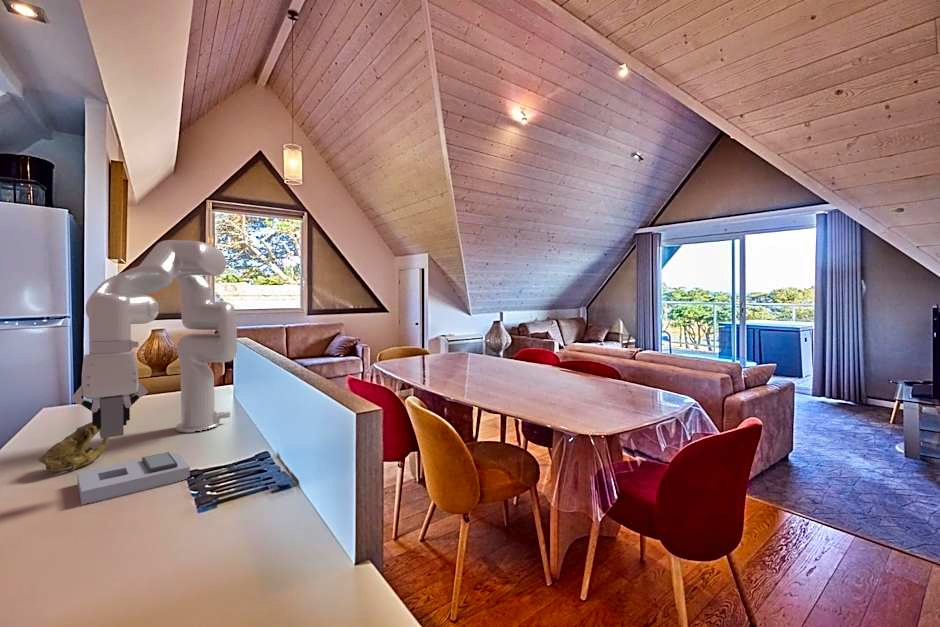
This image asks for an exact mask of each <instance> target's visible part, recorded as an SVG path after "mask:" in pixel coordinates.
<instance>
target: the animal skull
mask: <svg viewBox="0 0 940 627" xmlns="http://www.w3.org/2000/svg"><path fill="white" fill-rule="evenodd" d="M99 433H100V431H99V429H97V428H96V425H94V426H93V425H92V421H91V422H88V423H86V424H85V425H82V426H80V427H77V428H76V430H75V431H74V432H73V433H71V434H70V435H68V436H66V437H65V438H64V439H62V440H61V441H59V442H57V443H55V444H54V445H53V446H51V448H49V449H48V450H47V451H46V452H45V453H44V454H43V455H42V456H41V457H39V458H38V461H39V462H40V463H42V464H43V465H45V469H46V470H48V471H54V470H56V471H60V470H61V469H64V468H66V467H68V466H70V465H72V468H71V469H70V470H69V472H75V471H76V470H77V469H80V468H82V467H86V466H88V465H90V464H92V463H95V462H96V461H97V459H99V458H100V457H101V455H102V454H103V453H104V451H105V449H106V448H107V445H108V441H109V437H108V438H102V442H101V443H100V444H99V445H98V446H97V447H96V448H94V449H93V448H92V447H90V443H91V441H92V439H93V438H94V437H95V436H96V435H97V434H99ZM74 470H75V471H74Z"/></svg>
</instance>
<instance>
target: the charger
mask: <svg viewBox="0 0 940 627" xmlns="http://www.w3.org/2000/svg"><path fill="white" fill-rule="evenodd" d="M99 409H100V412H101V428H100V429H99V436H100V439H102V440H103V439H104V438H108V439H109V438H113V437H120V436H124V432H125V431H124V430H125V429H124V425H123V396H116V397H107V398H101V399H100V404H99Z"/></svg>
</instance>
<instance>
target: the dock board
mask: <svg viewBox="0 0 940 627" xmlns="http://www.w3.org/2000/svg"><path fill="white" fill-rule="evenodd" d="M190 468H191V467H190V466H189V465H188V463H187V462H186V460H185V459H184V458H182V456H181V455H180V453H179V452H178V451H173V452H169V451H168V452H167V451H166V452H163V453H157V454H154V455H153V454H152V455H148V456H142V457H141V458H139V459H134V460H128V461H123V462H119V463H115V464H109V465H103V466H100V467H99V466H98V467H95V468H91V469H85V470H79V471H77V472H76V473H77V489H78V492H79V493H78V494H79V500H80V503H81V506H85V505H88V504H87V503H89V504H92V502H93V503H97V502H100V500H101V501H105V500H108V498H109V499H112V498H113V497H114V498H117V497H121V496H125V495H129V494H134V493H137V492H142V491H146V490H149V489H150V488H151V489H154V488H158V486H159V487H162V485H163V486H166V485H165V484H167V485H170V483H171V484H175V483H178V481H179V482H182V481H181V480H183V481H185V480H184V479H186V478H188V477H190V474H191V473H190V472H191V471H190ZM190 478H191V477H190ZM174 482H175V483H174ZM96 501H97V502H96ZM84 504H85V505H84Z"/></svg>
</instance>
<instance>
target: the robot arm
mask: <svg viewBox="0 0 940 627" xmlns="http://www.w3.org/2000/svg"><path fill="white" fill-rule="evenodd" d="M226 267H227V260H226V256H225V255H224V253H223V252H222V250H220V249H218V248H217V247H215V246H212V245H211V244H208V243H206V242H203V241H199V240H181V239H180V240H179V239H177V240H176V239H167V240H163V241H160V242H158V243H157V244H156V245H155V246H154V247H153V248H152V250H150V252H149V253H148V254H147V256H146V257H144V260H142V262H141V263H140V264H139V265H138V266H135V267H132V268H130V269H128V270H125V271H123V272H121V273H118V274H115V275H113V276H110V277H109V278H107V279H105V280H104V281H103V282H101V283H100V284H99V285H98V286H97V287H96V289H94V291H93V292H92V293H91V295H90V296H89V297H88V300H87V301H86V304H85V314H86V316H87V318H88V353H87V354H84V357H83V361H82V368H81V369H82V370H81V383H80V384H81V385H80V386H79V388H77V390H76V391H75V393H74V394H73V396H71V398H70V402H72V403H74V404H77V405H79V406H82V407H84V408H86V409H88V410H89V411H91V420H92V421H91V422H92V425H93V426H94V425H96V428H97V429H100V428H101V412H100V409H99V404H100V399H101V398H107V397H116V396H123V426H127V422H129V421H130V419H131V417H130V416H131V414H130V413H131V409H130V408H131V407H132V406H133V405H134V404H135V403H136V402H137V401H138V400H139V399H140V398H143V397H144V396H146V394H148V392H149V391H148V390H147V388H146V387H145V386H144V385H143V384H142V383H141V382H140V380H139V372H138V371H139V370H138V369H139V368H138V363H137V358H136V354H135V352H134V351H132V350H133V349H134V348H135V349H136V348H139V341H134V340H132V338H131V337H132V333H131V332H132V331H131V330H132V328H131V326H132V325H146V324H149V323H151V322H153V321H154V320H156V318H157V317H158V316H159V312H160V305H159V303H158V301H157V300H156V299H155V298H154V297H152V296H150V295H148V294H151V293H155V292H159V291H161V290H164V289H167V288H169V286H171V284H172V283H173V281H174V280H175V279H176V281H177V283H178V285H179V289H180V311H181V322H182V325H183V327H184V328H185V329H188V330H193V331H197V330H198V331H218V333H190V334H186V335H183V336H182V337H180V338H179V339H178V341H177V343H176V351H177V352H176V353H177V358H178V361H179V368H180V369H179V370H180V410H181V411H180V412H181V413H180V414H181V416H180V418H181V420H180V421H181V422H180V423H178V424H177V425H176V426H175V430H176V432H180V433H196V432H195V431H200V432H203V431H202V430H206V431H208V430H207V429H210V428H213V427H216V426H217V425H219V426H220V425H221V424H220V422H221V421H220V419H221V420H222V419H228V418H230V417H231V412H230V411H227V412H224V411H221V412H217V411H215V375H214V374H215V373H214V372H213V370H212V368H211V367H210V365H209V364H208V363H228V362H232V361H233V360H235V358H236V356H237V351H238V335H237V334H238V333H237V332H238V329H237V326H238V324H237V323H238V322H237V313H236V309H235V307H234V306H233V304H231V303H229V302H226V301H213V300H212V293H211V292H212V289H211V285H210V283H209V282H208V280H207V278H205V277H218V276H221V275H222V274H223V273H224V272H225V270H226ZM82 397H83V398H82ZM90 400H91V401H90ZM217 427H218V426H217ZM217 427H216V428H217ZM213 429H214V428H213ZM210 430H211V429H210Z"/></svg>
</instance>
